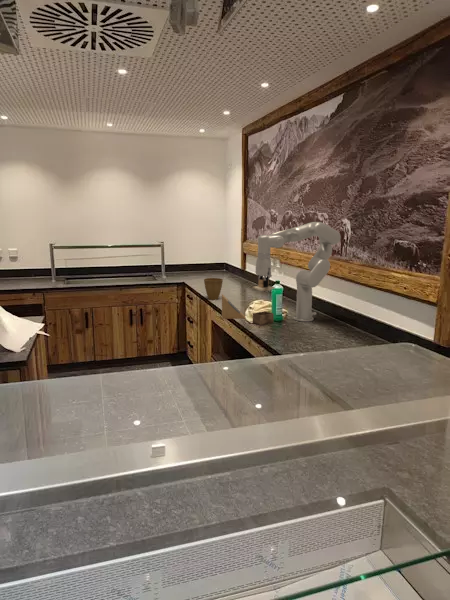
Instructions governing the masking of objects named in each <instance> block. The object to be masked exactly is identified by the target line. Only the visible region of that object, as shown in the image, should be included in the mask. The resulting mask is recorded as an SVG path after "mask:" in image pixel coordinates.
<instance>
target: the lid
mask: <svg viewBox="0 0 450 600" xmlns="http://www.w3.org/2000/svg"><path fill="white" fill-rule="evenodd" d="M269 281H270V279H269V280H268V287H264V278H263V279H260V280H259V279H258V285H255V286H252V287H251V288H252V289H255V291H259V292H266V291H271V290H272V289H273V290H274V289H276V287H275V286H270V285H269V284H270V282H269Z"/></svg>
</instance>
